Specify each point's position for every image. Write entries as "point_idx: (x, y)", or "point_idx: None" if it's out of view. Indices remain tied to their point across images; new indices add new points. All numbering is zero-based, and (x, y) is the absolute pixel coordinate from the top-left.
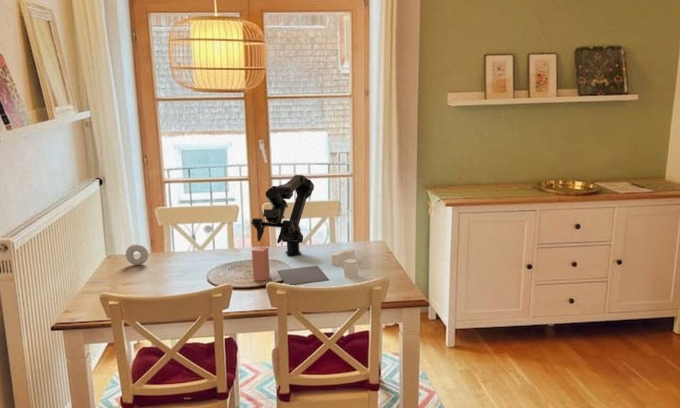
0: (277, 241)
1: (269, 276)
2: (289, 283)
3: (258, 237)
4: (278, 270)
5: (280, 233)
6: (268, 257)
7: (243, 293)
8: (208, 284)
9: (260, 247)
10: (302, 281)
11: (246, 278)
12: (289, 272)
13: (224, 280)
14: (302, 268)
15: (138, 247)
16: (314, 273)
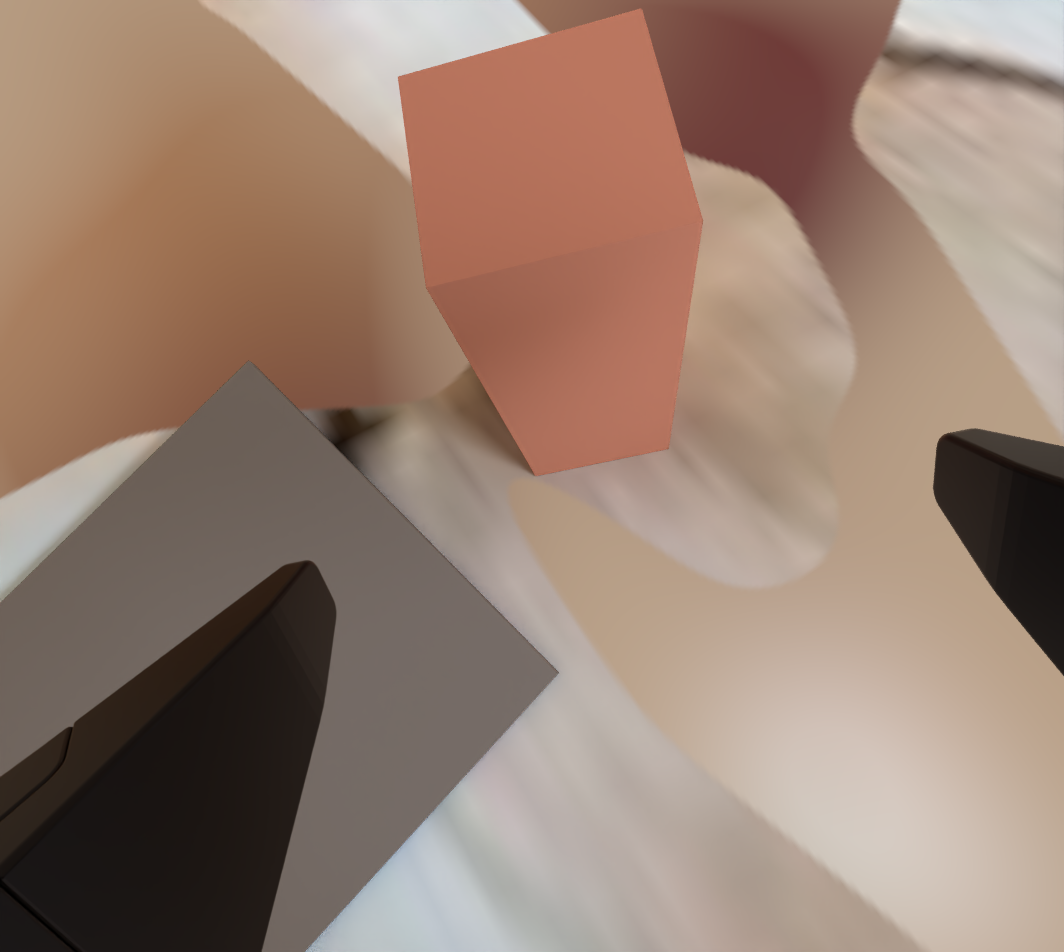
0: (292, 566)
1: (534, 471)
2: (237, 402)
3: (1032, 456)
4: (545, 678)
5: (68, 765)
6: (480, 378)
7: None
8: (970, 32)
9: (595, 217)
10: (141, 502)
11: (740, 324)
12: (384, 676)
13: (914, 174)
14: (302, 889)
15: None
16: None
